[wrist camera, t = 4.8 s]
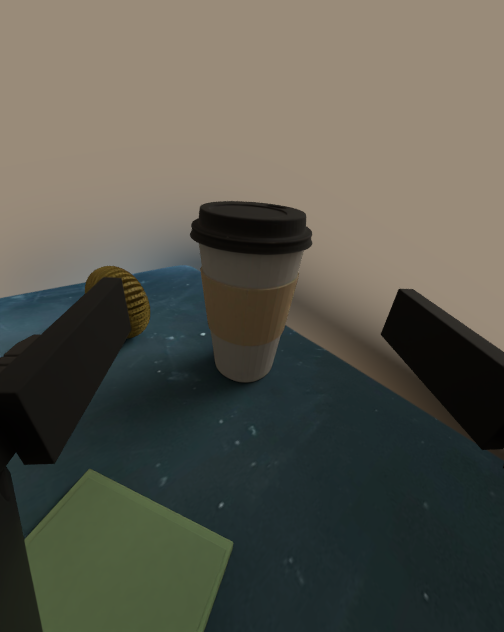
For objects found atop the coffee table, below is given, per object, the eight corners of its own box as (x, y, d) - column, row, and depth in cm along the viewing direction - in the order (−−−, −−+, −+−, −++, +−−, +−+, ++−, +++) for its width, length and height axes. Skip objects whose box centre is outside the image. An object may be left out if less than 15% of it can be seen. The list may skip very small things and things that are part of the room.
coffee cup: (291, 344, 30) (317, 207, 23) (283, 408, 22) (317, 228, 15) (214, 330, 32) (214, 196, 24) (180, 385, 24) (163, 211, 16)
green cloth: (233, 546, 14) (233, 539, 14) (163, 747, 9) (161, 747, 9) (91, 473, 17) (88, 465, 16) (-21, 598, 12) (-30, 592, 11)
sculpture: (161, 339, 29) (153, 272, 25) (129, 356, 26) (114, 285, 22) (120, 315, 33) (107, 254, 29) (88, 328, 30) (68, 262, 26)
